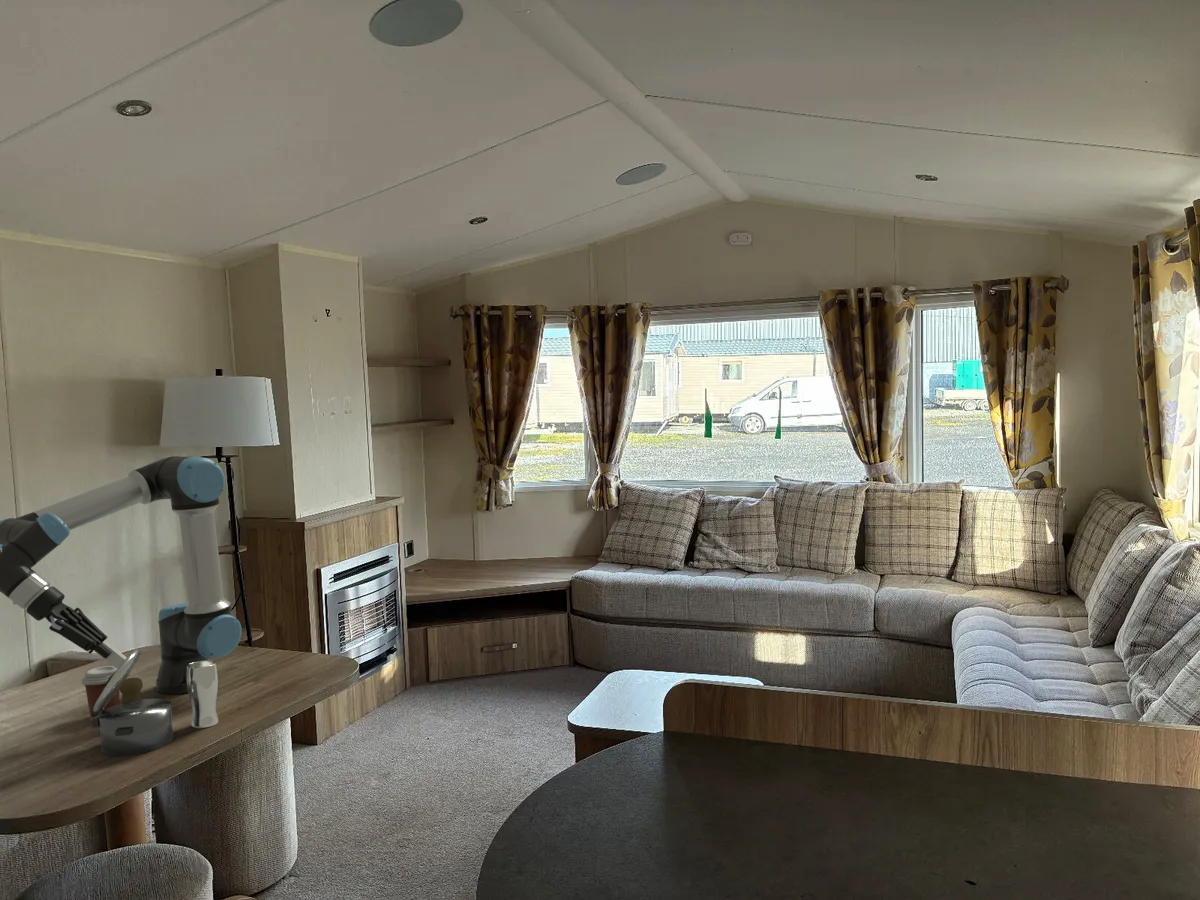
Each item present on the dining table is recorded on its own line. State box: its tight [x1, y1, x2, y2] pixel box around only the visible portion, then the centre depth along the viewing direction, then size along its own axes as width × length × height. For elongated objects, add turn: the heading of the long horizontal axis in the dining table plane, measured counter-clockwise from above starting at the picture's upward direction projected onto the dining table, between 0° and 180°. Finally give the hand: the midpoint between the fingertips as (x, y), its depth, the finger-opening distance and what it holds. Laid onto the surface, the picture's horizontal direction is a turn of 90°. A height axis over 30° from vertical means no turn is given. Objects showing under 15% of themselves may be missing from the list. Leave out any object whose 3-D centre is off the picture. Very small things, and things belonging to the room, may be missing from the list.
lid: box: [92, 648, 142, 716], centre depth 209 cm, size 16×16×2 cm
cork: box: [119, 677, 143, 704], centre depth 224 cm, size 6×6×11 cm
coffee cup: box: [81, 665, 121, 721], centre depth 229 cm, size 9×9×12 cm
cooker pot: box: [91, 698, 174, 757], centre depth 210 cm, size 16×19×8 cm
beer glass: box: [187, 659, 219, 729], centre depth 221 cm, size 7×7×15 cm
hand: (122, 663), depth 209 cm, fingers closed
